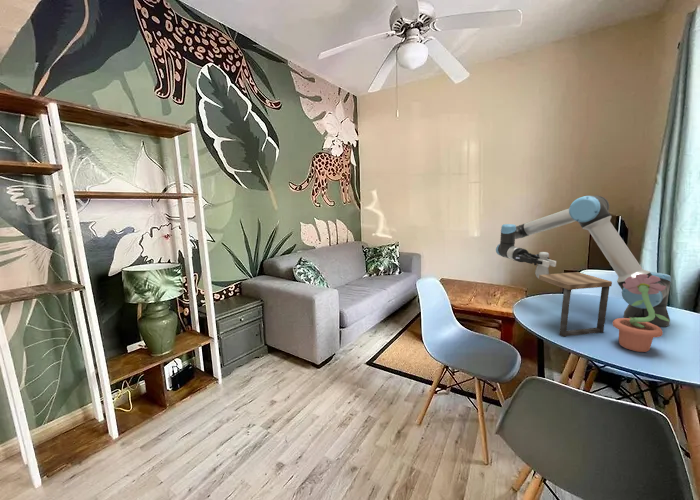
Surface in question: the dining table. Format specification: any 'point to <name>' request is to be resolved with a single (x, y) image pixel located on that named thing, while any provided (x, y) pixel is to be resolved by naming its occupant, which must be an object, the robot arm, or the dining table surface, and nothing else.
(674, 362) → the dining table surface
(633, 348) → the decorative flower
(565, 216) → the robot arm
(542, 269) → the salt shaker
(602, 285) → the wooden side table
